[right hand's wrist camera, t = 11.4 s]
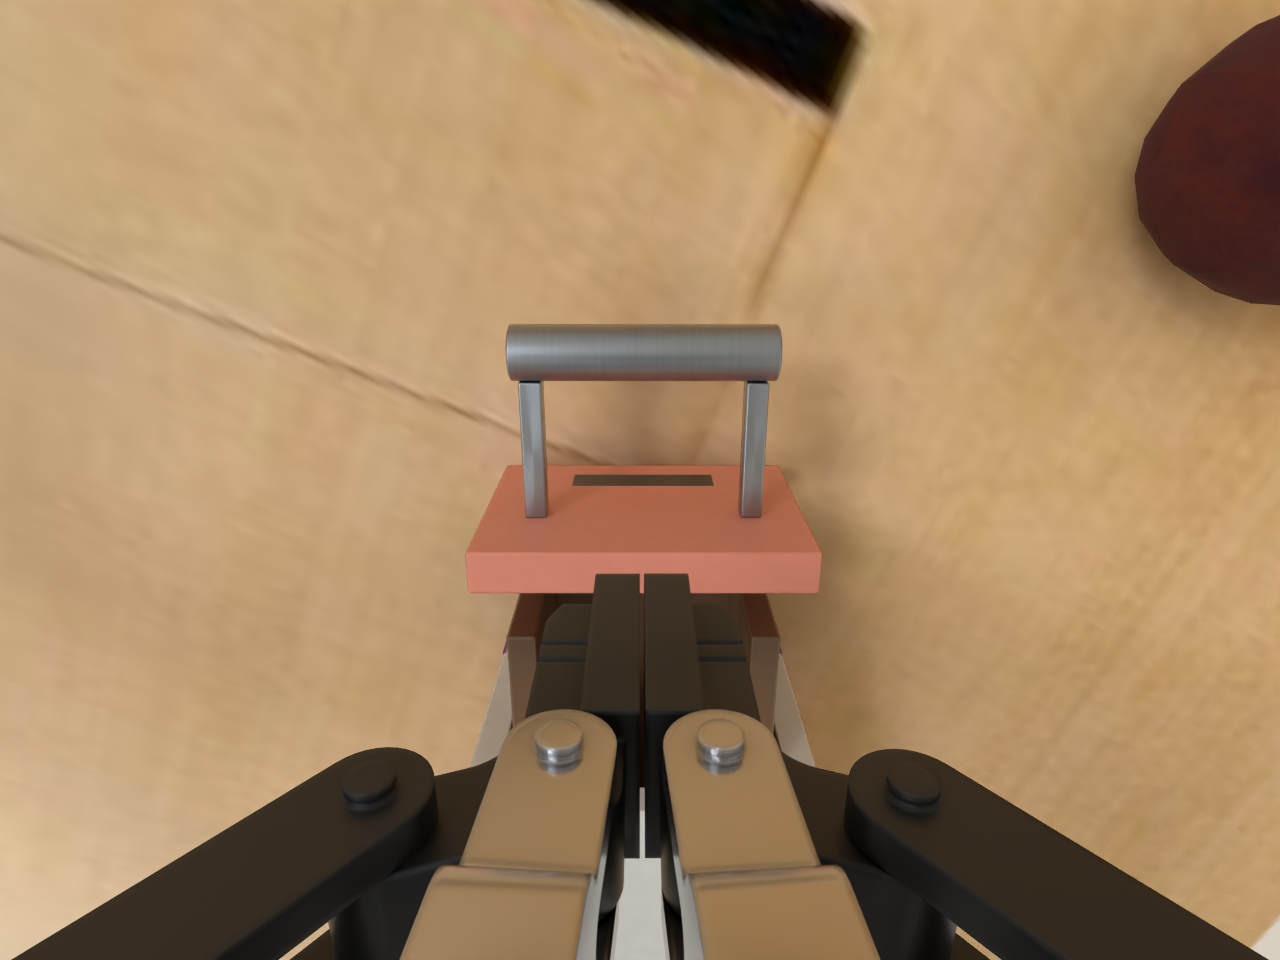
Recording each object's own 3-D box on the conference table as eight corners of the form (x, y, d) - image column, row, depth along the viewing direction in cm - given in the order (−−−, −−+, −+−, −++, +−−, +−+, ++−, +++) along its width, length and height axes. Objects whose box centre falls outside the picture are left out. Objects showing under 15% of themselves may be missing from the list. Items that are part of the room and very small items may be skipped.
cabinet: (506, 639, 29) (456, 811, 21) (778, 640, 29) (830, 811, 21) (528, 945, 35) (494, 1171, 27) (755, 945, 35) (789, 1171, 27)
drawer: (496, 302, 24) (445, 342, 18) (790, 302, 24) (843, 342, 18) (529, 812, 31) (500, 969, 25) (755, 812, 31) (784, 969, 25)
